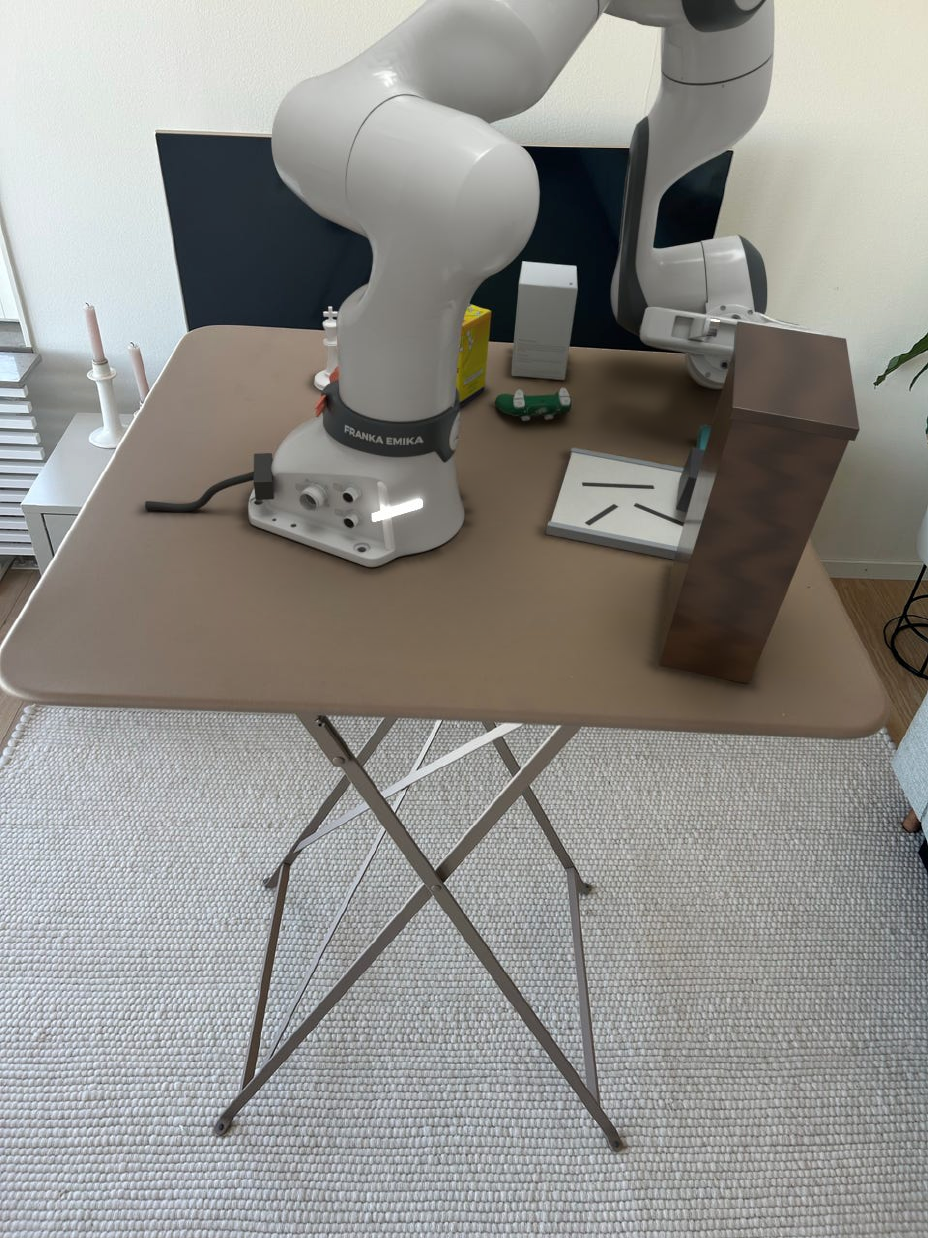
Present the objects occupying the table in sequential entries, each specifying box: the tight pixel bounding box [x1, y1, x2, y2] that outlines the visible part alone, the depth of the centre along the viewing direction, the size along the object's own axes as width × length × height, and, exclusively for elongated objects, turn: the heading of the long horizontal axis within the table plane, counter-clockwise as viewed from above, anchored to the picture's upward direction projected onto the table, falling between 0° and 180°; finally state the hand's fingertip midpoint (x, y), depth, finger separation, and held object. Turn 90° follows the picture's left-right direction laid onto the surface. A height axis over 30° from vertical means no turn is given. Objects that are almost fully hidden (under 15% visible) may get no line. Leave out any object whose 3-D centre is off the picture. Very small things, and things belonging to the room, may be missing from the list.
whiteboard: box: [545, 447, 687, 561], centre depth 96 cm, size 18×16×1 cm
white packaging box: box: [511, 260, 579, 381], centre depth 115 cm, size 7×7×13 cm
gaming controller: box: [494, 387, 573, 422], centre depth 108 cm, size 9×4×6 cm
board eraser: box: [676, 423, 712, 513], centre depth 98 cm, size 5×19×4 cm, turn 164°
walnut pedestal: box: [658, 321, 861, 685], centre depth 75 cm, size 9×15×26 cm, turn 166°
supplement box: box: [456, 303, 492, 408], centre depth 109 cm, size 6×6×11 cm
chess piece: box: [313, 306, 338, 391], centre depth 109 cm, size 5×5×10 cm
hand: (740, 330), depth 90 cm, fingers open, 4 cm apart
